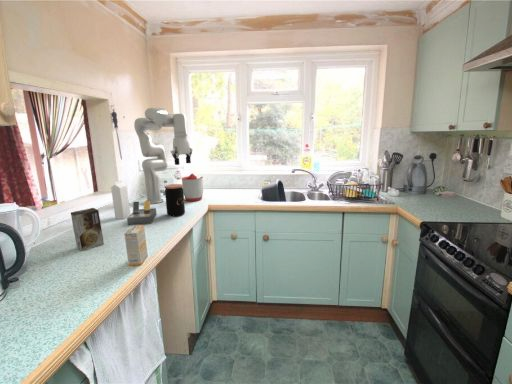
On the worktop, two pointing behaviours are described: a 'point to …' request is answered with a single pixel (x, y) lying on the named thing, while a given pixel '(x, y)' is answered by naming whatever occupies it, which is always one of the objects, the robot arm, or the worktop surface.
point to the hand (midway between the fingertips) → (182, 163)
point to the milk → (120, 200)
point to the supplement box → (136, 245)
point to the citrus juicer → (192, 187)
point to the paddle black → (135, 207)
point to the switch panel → (142, 217)
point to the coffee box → (87, 228)
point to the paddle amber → (146, 206)
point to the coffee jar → (174, 200)
